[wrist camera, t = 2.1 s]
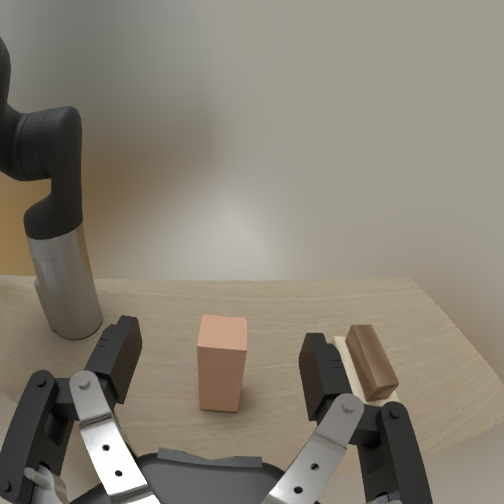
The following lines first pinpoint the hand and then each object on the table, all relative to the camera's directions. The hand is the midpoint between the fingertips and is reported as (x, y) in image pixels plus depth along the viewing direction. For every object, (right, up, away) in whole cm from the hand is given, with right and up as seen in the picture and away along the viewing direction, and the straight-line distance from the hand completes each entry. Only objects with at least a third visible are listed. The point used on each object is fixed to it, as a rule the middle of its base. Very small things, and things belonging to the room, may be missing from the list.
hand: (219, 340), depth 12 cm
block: (-3, -14, +19) cm, 24 cm away
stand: (+18, -14, +23) cm, 33 cm away
